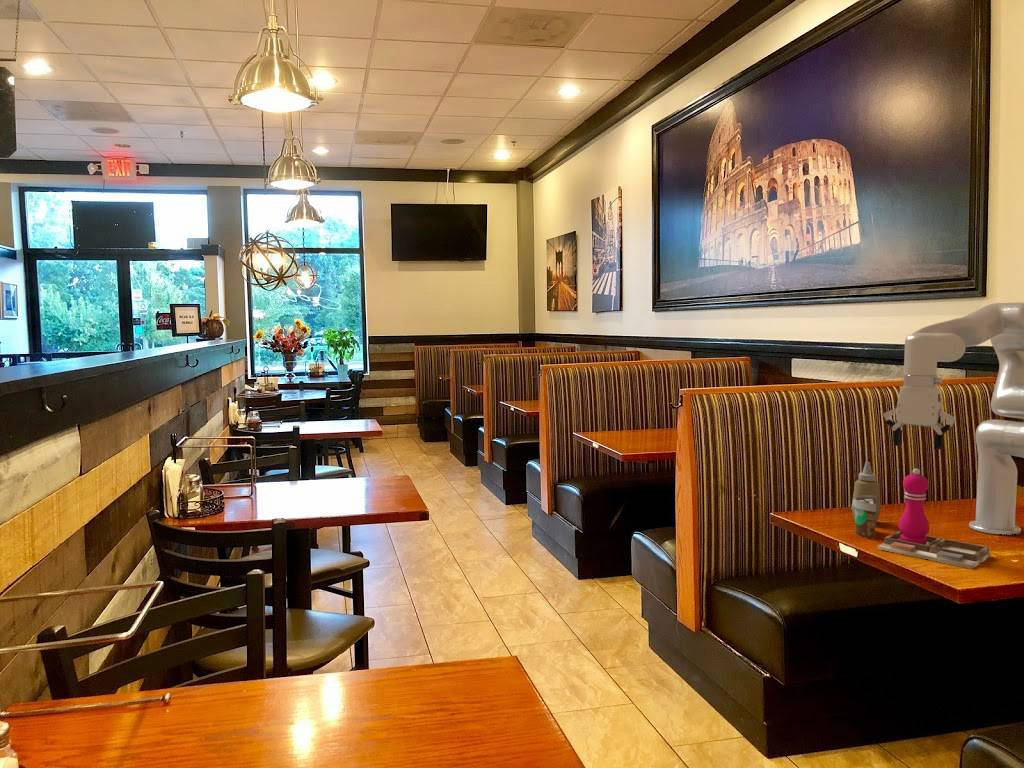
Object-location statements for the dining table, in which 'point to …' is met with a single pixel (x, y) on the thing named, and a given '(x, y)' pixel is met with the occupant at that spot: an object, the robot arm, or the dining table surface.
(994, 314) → the robot arm
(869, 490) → the squeeze bottle
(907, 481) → the pepper mill
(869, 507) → the food container
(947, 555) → the holder board
